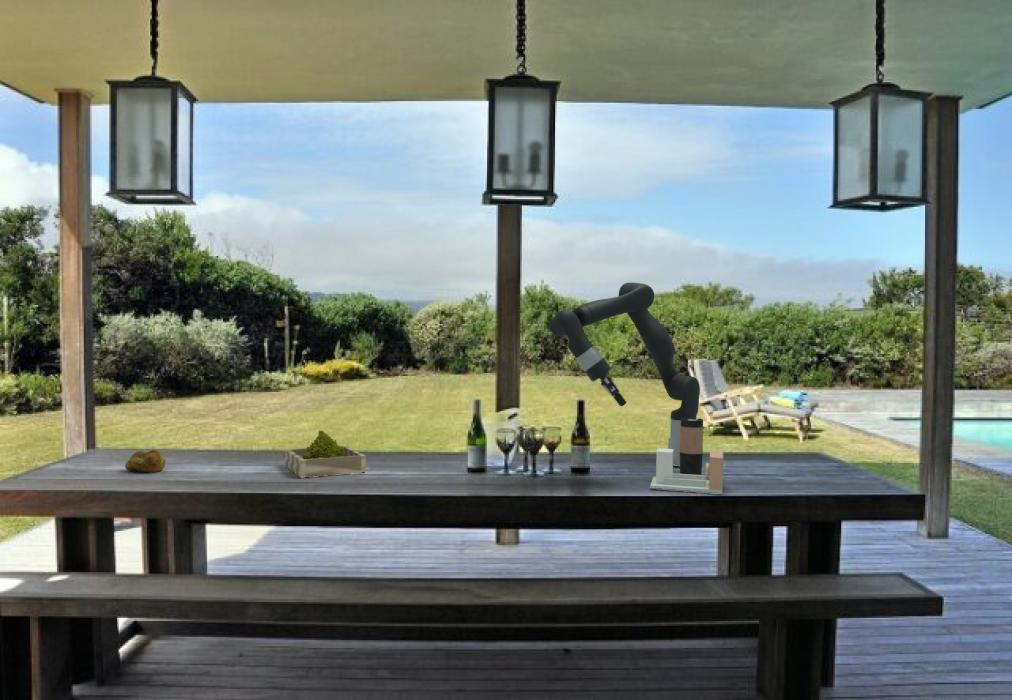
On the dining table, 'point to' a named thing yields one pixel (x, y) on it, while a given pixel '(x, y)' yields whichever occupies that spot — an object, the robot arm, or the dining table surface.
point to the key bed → (697, 477)
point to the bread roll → (146, 462)
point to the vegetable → (323, 448)
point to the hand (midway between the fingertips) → (623, 404)
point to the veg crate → (325, 463)
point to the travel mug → (691, 446)
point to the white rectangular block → (664, 464)
